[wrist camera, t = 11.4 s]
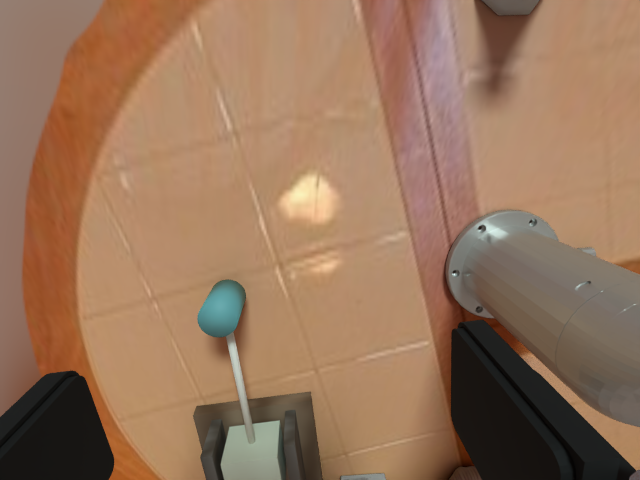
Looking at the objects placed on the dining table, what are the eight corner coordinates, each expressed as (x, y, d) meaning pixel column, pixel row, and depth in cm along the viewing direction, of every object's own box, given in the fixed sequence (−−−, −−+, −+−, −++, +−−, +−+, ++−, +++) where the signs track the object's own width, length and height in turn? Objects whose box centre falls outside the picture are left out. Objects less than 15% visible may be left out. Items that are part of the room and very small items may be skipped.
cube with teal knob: (254, 275, 36) (247, 298, 31) (286, 458, 44) (284, 500, 39) (196, 282, 36) (180, 306, 31) (238, 465, 43) (230, 508, 38)
